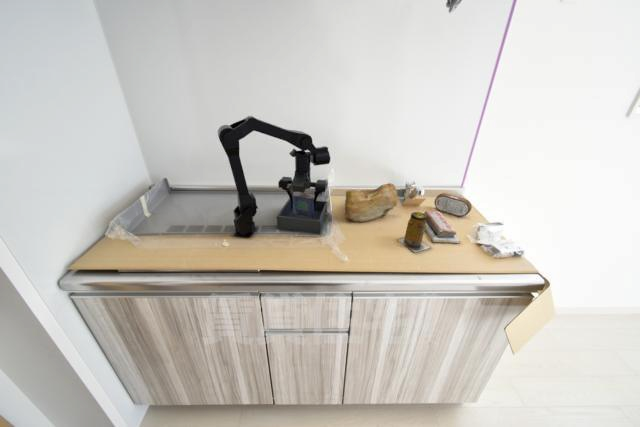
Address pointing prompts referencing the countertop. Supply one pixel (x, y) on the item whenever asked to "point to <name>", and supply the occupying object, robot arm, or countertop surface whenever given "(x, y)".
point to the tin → (453, 204)
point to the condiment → (415, 232)
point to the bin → (302, 218)
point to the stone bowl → (370, 203)
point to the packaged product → (439, 228)
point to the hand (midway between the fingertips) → (303, 203)
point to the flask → (303, 205)
